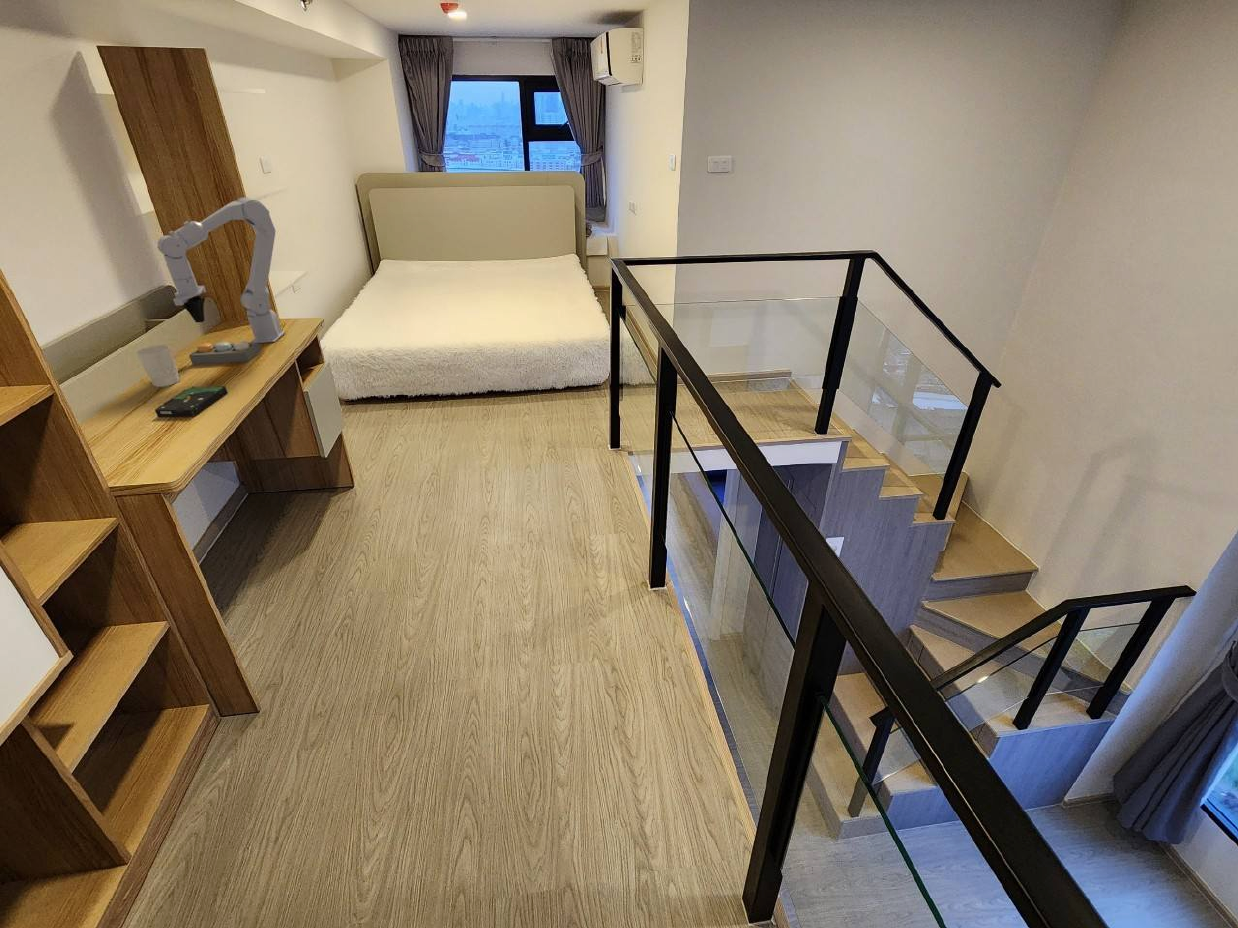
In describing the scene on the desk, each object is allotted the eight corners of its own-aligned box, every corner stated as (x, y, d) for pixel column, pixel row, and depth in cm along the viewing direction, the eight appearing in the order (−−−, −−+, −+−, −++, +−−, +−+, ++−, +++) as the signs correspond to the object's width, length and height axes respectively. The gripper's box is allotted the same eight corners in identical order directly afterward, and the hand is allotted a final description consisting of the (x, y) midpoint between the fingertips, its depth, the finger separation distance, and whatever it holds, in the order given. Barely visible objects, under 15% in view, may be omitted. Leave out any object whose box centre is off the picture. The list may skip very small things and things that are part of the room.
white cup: (189, 377, 186) (175, 344, 181) (170, 388, 179) (155, 354, 174) (164, 376, 187) (150, 344, 181) (144, 387, 180) (129, 354, 175)
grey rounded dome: (222, 350, 199) (219, 342, 198) (235, 349, 199) (232, 341, 198) (216, 355, 196) (212, 347, 195) (229, 354, 196) (226, 346, 195)
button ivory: (239, 349, 200) (237, 341, 198) (252, 348, 200) (250, 340, 198) (234, 354, 196) (231, 346, 195) (247, 353, 196) (244, 345, 195)
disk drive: (196, 419, 163) (229, 394, 175) (192, 409, 161) (225, 385, 174) (157, 419, 163) (193, 394, 176) (153, 409, 162) (189, 385, 174)
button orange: (204, 351, 199) (201, 343, 198) (217, 350, 199) (214, 342, 198) (197, 356, 196) (194, 348, 194) (211, 355, 196) (207, 347, 194)
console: (206, 354, 202) (203, 345, 201) (261, 351, 203) (258, 342, 201) (192, 364, 194) (188, 355, 193) (249, 361, 195) (245, 352, 194)
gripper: (182, 272, 196) (198, 315, 203) (156, 285, 184) (174, 330, 191) (205, 271, 197) (221, 314, 204) (181, 283, 184) (198, 328, 191)
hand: (200, 321), depth 197 cm, fingers closed
